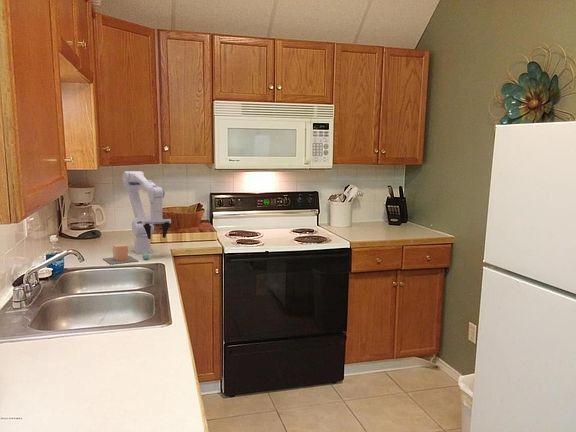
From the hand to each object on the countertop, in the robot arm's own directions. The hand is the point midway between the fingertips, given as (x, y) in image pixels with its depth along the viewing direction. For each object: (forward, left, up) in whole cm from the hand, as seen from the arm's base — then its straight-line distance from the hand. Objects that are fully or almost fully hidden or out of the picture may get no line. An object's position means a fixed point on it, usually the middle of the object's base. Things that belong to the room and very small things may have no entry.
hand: (156, 238), depth 228 cm
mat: (0, -18, -9) cm, 20 cm away
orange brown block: (0, -18, -9) cm, 20 cm away
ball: (+4, -7, -8) cm, 11 cm away
